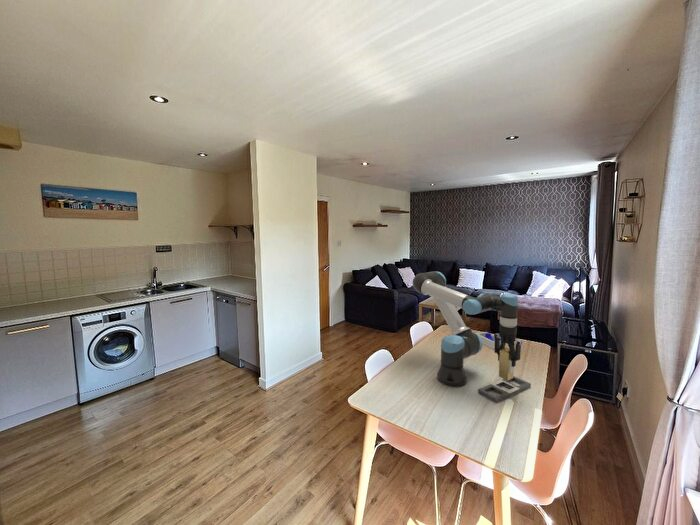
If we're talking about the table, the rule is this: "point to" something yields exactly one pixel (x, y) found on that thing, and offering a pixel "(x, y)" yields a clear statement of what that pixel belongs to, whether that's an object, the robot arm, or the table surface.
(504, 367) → the brass peg
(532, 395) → the table surface
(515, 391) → the grey peg hole board
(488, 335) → the blue arch block
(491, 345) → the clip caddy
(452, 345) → the robot arm
